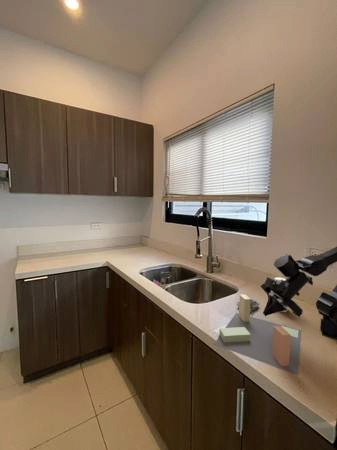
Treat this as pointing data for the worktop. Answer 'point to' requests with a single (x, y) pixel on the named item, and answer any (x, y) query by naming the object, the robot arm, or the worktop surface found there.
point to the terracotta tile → (281, 345)
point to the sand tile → (244, 308)
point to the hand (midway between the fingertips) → (264, 314)
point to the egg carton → (252, 302)
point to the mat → (263, 342)
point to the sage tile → (234, 334)
